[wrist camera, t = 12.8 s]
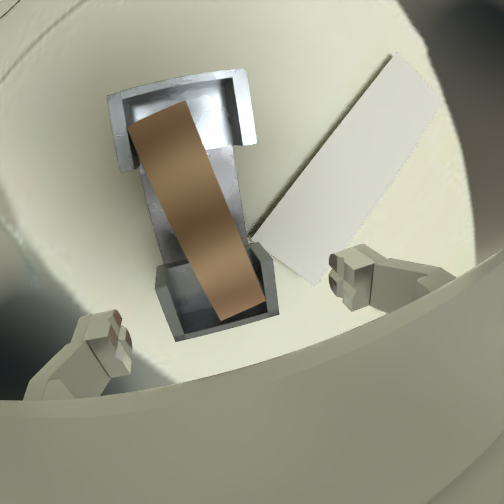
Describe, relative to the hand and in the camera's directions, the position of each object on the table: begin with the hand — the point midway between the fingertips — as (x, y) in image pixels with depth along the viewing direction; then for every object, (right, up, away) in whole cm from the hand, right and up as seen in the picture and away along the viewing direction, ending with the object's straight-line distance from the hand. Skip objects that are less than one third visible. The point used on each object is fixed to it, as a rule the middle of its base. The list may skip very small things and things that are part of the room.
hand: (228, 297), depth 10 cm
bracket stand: (-6, +9, +20) cm, 23 cm away
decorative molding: (+14, +15, +24) cm, 32 cm away
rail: (-3, +5, +12) cm, 14 cm away
